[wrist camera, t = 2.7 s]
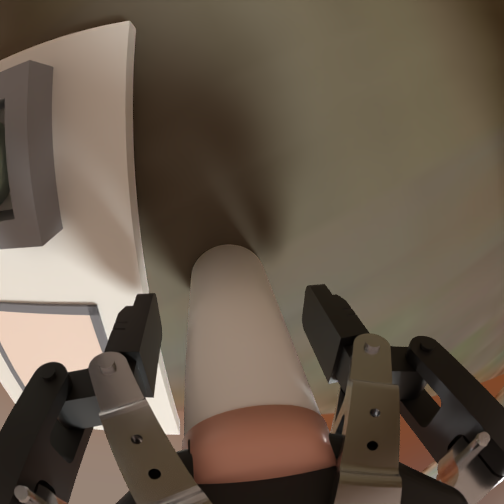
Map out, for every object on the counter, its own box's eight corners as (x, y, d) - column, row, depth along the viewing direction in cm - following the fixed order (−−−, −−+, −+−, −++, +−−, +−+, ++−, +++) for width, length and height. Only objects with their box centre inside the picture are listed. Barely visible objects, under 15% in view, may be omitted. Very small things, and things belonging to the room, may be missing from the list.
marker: (266, 241, 14) (364, 444, 4) (264, 307, 15) (326, 499, 6) (187, 245, 14) (167, 471, 4) (193, 311, 15) (195, 516, 5)
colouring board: (136, 28, 9) (116, 3, 6) (180, 421, 19) (179, 457, 16) (-62, 103, 7) (-95, 107, 4) (27, 405, 17) (16, 432, 14)
